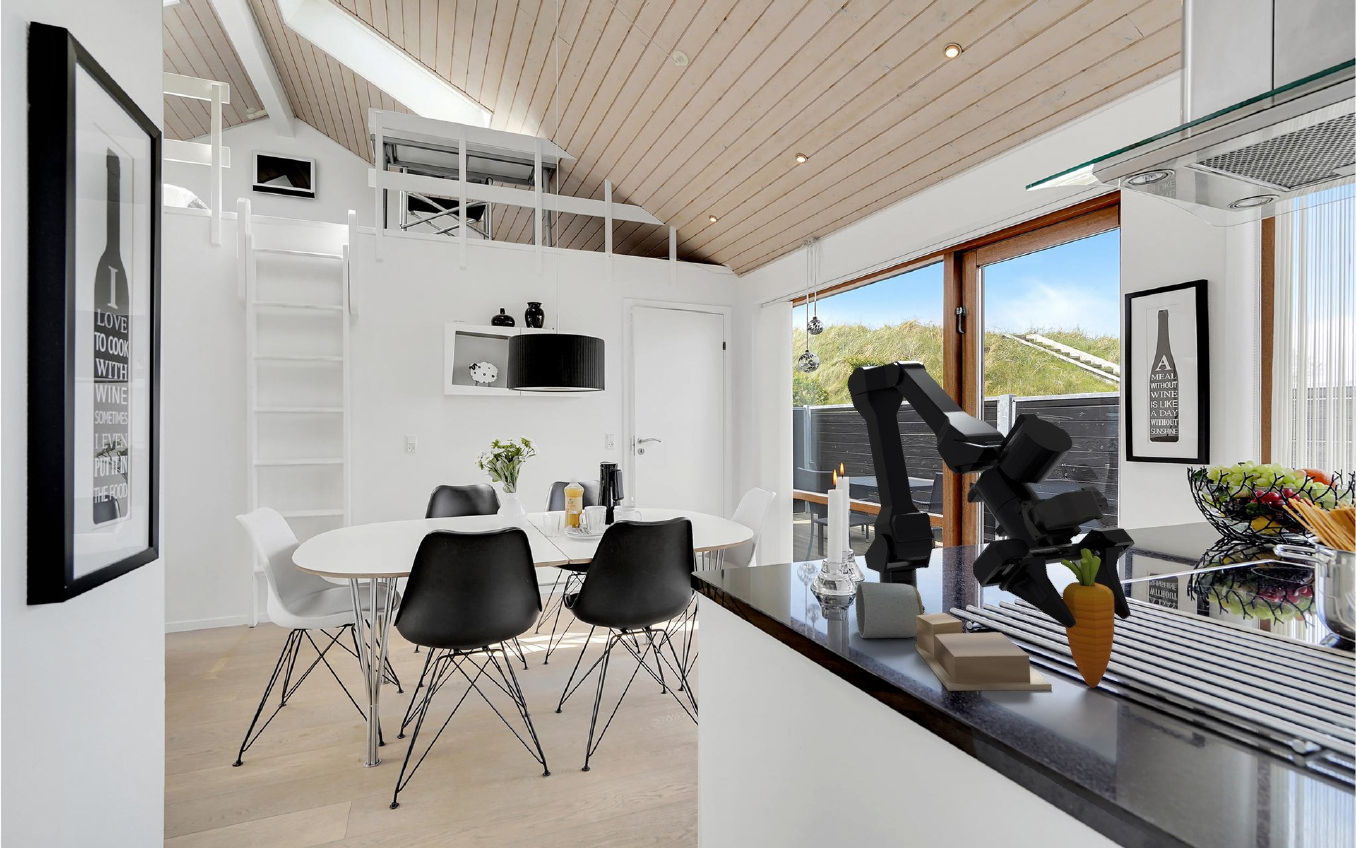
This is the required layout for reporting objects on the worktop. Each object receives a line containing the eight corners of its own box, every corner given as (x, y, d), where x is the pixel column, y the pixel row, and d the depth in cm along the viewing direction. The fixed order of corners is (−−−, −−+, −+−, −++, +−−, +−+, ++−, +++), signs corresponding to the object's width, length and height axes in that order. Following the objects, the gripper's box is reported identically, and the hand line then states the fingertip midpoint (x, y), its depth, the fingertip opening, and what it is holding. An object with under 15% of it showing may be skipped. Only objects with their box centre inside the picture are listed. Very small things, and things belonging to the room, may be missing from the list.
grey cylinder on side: (927, 644, 89) (924, 586, 89) (865, 645, 90) (862, 588, 90) (906, 622, 100) (903, 570, 100) (850, 623, 100) (848, 572, 100)
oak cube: (917, 646, 87) (916, 615, 87) (945, 643, 87) (944, 612, 87) (934, 656, 83) (932, 624, 83) (963, 653, 83) (962, 621, 83)
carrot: (1102, 700, 69) (1095, 557, 69) (1056, 685, 74) (1049, 550, 74) (1129, 689, 72) (1122, 551, 72) (1083, 675, 76) (1076, 544, 76)
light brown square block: (934, 658, 82) (933, 633, 82) (1002, 657, 81) (1000, 632, 81) (955, 683, 74) (954, 656, 74) (1030, 682, 73) (1029, 655, 73)
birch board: (915, 648, 88) (914, 643, 88) (1001, 646, 87) (1001, 642, 87) (948, 690, 74) (948, 685, 74) (1051, 689, 73) (1051, 684, 73)
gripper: (985, 469, 74) (1073, 590, 63) (1115, 459, 79) (1217, 570, 68) (942, 530, 82) (1014, 647, 71) (1064, 517, 87) (1148, 625, 76)
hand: (1100, 621), depth 71 cm, fingers open, 7 cm apart
